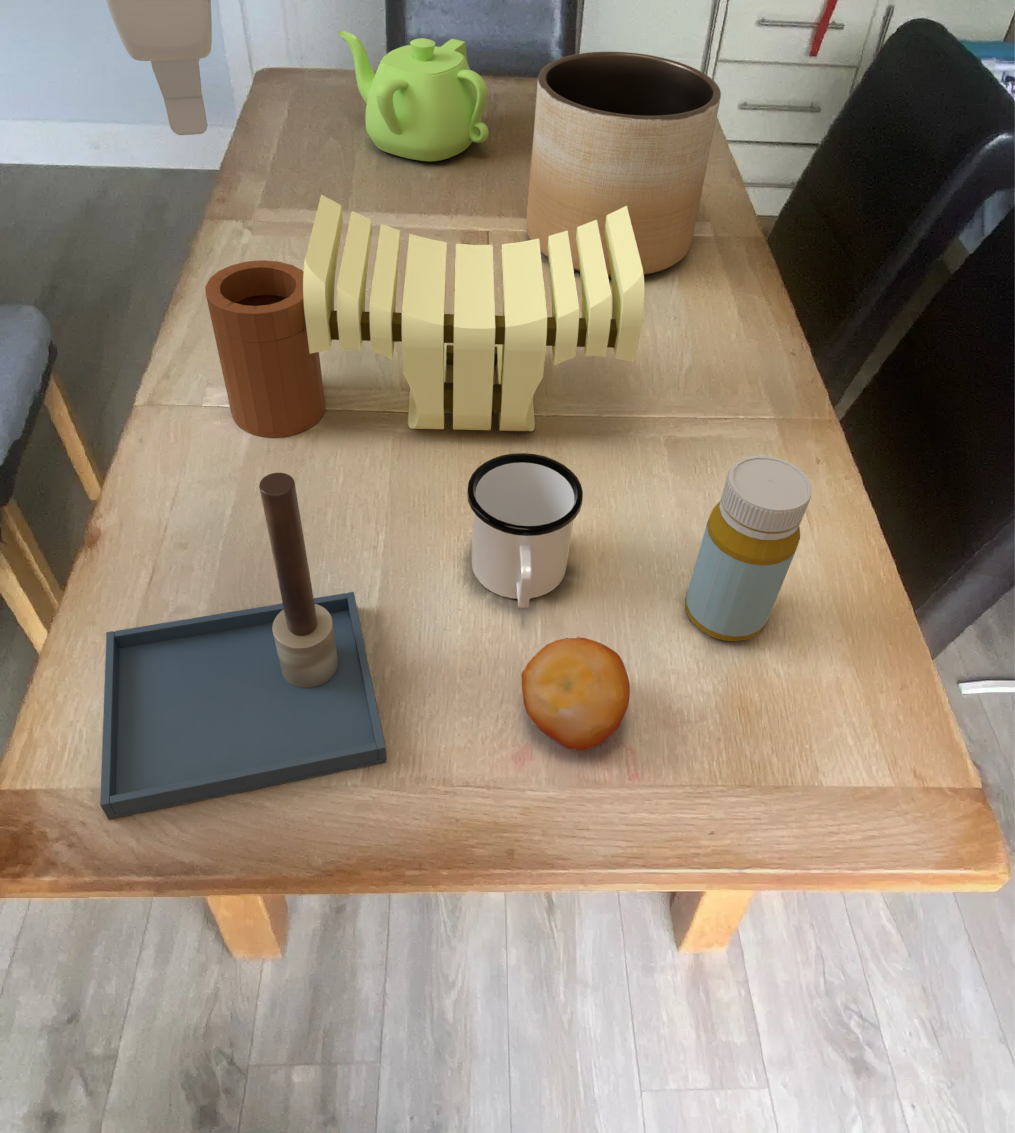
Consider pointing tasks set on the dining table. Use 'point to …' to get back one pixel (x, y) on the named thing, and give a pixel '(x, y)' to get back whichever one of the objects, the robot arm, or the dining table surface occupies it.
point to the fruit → (576, 692)
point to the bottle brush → (296, 591)
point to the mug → (522, 524)
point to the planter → (621, 150)
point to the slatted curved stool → (473, 312)
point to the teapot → (421, 99)
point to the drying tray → (228, 710)
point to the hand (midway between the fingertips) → (187, 94)
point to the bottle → (747, 547)
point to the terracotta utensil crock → (265, 348)
